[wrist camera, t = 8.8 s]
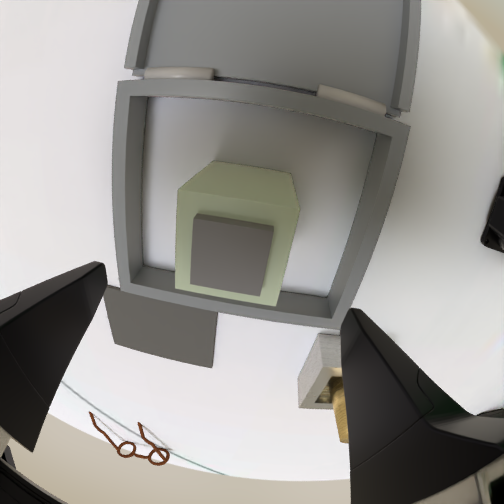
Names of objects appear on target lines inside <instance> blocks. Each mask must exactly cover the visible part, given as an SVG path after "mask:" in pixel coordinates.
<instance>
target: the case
mask: <svg viewBox="0 0 504 504" xmlns="http://www.w3.org/2000/svg"><path fill="white" fill-rule="evenodd" d="M420 21H421V0H139V2H138V5H137V9H136V13H135V17H134V21H133V25H132V29H131V34H130V38H129V43H128V48H127V54H126V59H125V65H124V68H126V69H131V70H133V73H132V76H137V77H138V76H144V79H142V80H125V81H118V85H117V93H116V102H115V113H114V126H113V145H112V205H113V224H114V238H115V249H116V258H117V267H118V275H119V282H120V289H121V291H124V292H128V293H132V294H136V295H140V296H144V297H148V298H153V299H157V300H161V301H166V302H171V303H175V304H180V305H185V306H189V307H194V308H199V309H204V310H210V311H215V312H220V313H226V314H231V315H237V316H243V317H249V318H255V319H261V320H267V321H274V322H281V323H288V324H295V325H303V326H311V327H319V328H327V329H336V330H340V328H341V324H342V322H343V320H344V318H345V316H346V313H347V311H348V310H349V309H350V307H351V305H352V302H353V300H354V298H355V296H356V293H357V291H358V289H359V286H360V284H361V282H362V279H363V277H364V274H365V272H366V269H367V267H368V264H369V262H370V259H371V257H372V254H373V251H374V249H375V246H376V243H377V241H378V238H379V235H380V232H381V229H382V226H383V224H384V221H385V218H386V215H387V212H388V208H389V205H390V202H391V199H392V196H393V192H394V189H395V186H396V182H397V179H398V175H399V171H400V168H401V164H402V160H403V156H404V152H405V148H406V144H407V140H408V135H409V131H410V126H408V125H405V124H403V123H400V122H398V121H395V120H392V119H390V118H387V117H385V114H388V115H391V116H394V117H400V114H401V112H410V106H411V101H412V95H413V89H414V82H415V75H416V67H417V59H418V49H419V38H420ZM214 77H217V78H229V79H239V80H247V81H255V82H262V83H269V84H275V85H281V86H286V87H291V88H296V89H301V90H306V91H310V92H315V93H316V96H312V95H308V94H303V93H298V92H293V91H288V90H283V89H277V88H271V87H265V86H258V85H251V84H243V83H234V82H224V81H214ZM148 97H180V98H199V99H212V100H222V101H232V102H240V103H248V104H255V105H262V106H268V107H274V108H279V109H285V110H290V111H295V112H300V113H305V114H309V115H313V116H318V117H322V118H326V119H330V120H334V121H338V122H341V123H345V124H349V125H352V126H355V127H359V128H362V129H365V130H369V131H372V132H375V133H377V136H376V141H375V145H374V149H373V153H372V158H371V162H370V166H369V169H368V173H367V177H366V181H365V185H364V188H363V192H362V195H361V199H360V202H359V206H358V209H357V212H356V216H355V219H354V222H353V225H352V229H351V232H350V235H349V238H348V241H347V244H346V247H345V250H344V253H343V256H342V259H341V262H340V265H339V267H338V270H337V273H336V276H335V278H334V281H333V284H332V287H331V289H330V292H329V295H328V297H327V298H323V297H317V296H310V295H303V294H297V293H290V292H284V291H280V293H279V296H278V300H277V304H276V306H270V305H263V304H257V303H251V302H245V301H239V300H234V299H228V298H222V297H217V296H212V295H206V294H201V293H196V292H191V291H186V290H181V289H176V288H175V272H172V271H167V270H162V269H157V268H152V267H147V266H143V252H142V222H141V189H142V159H143V143H144V130H145V118H146V109H147V100H148Z"/></svg>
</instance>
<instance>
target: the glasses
mask: <svg viewBox="0 0 504 504" xmlns="http://www.w3.org/2000/svg"><path fill="white" fill-rule="evenodd" d="M89 414H90V417H91V419H92V422H93V425H94V427H95V428H96V429H97V430H98V431H99V432H101V433H102V434H103V435H104V436H105V437H106V438H107V439H108V441H109V442H110V443H111V444H112V445H113V446H114V447H115V448H116V450H117V453H118V454H119V455H120V456H121V457H124V458H128V457H132V456H133V455H135V456H136V457H139V458H144V459H147V458H148V460H149V462H150V463H151V464H153V465H157V466H160V465H164V464H165V463H166V462H167V461H168V460H169V457H170V454H169V452H168V451H167V450H166V449H163V448H157V447H156V446H155V444H154V443H152V442H150V441H149V440H147V439H146V438H145V436H144V432H143V429H142V425H141V424H140V423H139V422H138V426H139V430H140V434H141V437H142V439H143V440H144V441H145V442H146V443H148V444H150V445H151V446H152V447H153V448H154V449H153V450H152V451H151V452H150V453H149V455H148V456H143V455H138V454H135V452H136V445H135V444H134V443H132V442H128V441H126V442H123V443H121V444H120V445H119V446H118V447H117V446H116V445H115V443H114V442H113V441H112V440H111V439H110V438H109V436H108V435H107V434H106V433H105V432H104V431H102V430H101V429H100V428H99V427H98V426H97V425H96V422H95V419H94V416H93V414H92V413H91V412H89ZM125 444H131V445H133V451H132V453H130V454H129V455H122V454H121V453H120V449H121V447H122V446H123V445H125ZM160 451H164V452H166V458H165V457H164V456H163V454H162V453H161V452H160ZM154 452H157V453H158V454H159V456H160V457H161V458H162V459H163V460H164V461H163V462H160V463H155V462H153V461H152V460H151V456H152V454H153V453H154Z"/></svg>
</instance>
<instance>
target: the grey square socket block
mask: <svg viewBox="0 0 504 504" xmlns="http://www.w3.org/2000/svg"><path fill="white" fill-rule="evenodd" d="M331 376H339V377H342V370H341V340H340V336H336V335H326V334H318V336H317V338H316V340H315V342H314V345H313V347H312V349H311V351H310V353H309V355H308V358H307V360H306V362H305V364H304V366H303V368H302V370H301V372H300V374H299V376H298V403H299V408H306V409H333V404H332V399H331V395H330V390H329V386H328V381H329V380H330V378H331Z"/></svg>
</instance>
